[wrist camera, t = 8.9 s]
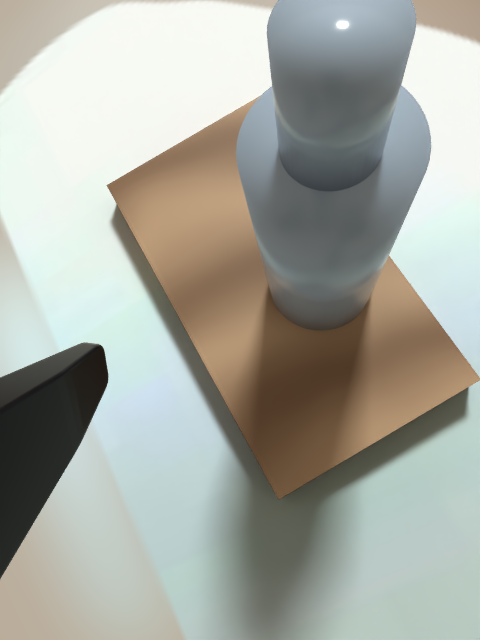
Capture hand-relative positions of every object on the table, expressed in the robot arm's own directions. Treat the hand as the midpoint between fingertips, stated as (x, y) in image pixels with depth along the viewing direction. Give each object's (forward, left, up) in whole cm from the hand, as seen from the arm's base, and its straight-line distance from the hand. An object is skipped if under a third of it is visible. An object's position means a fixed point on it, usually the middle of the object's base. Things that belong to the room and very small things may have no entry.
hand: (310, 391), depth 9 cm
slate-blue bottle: (+6, -2, -11) cm, 13 cm away
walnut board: (+7, 0, -13) cm, 15 cm away
